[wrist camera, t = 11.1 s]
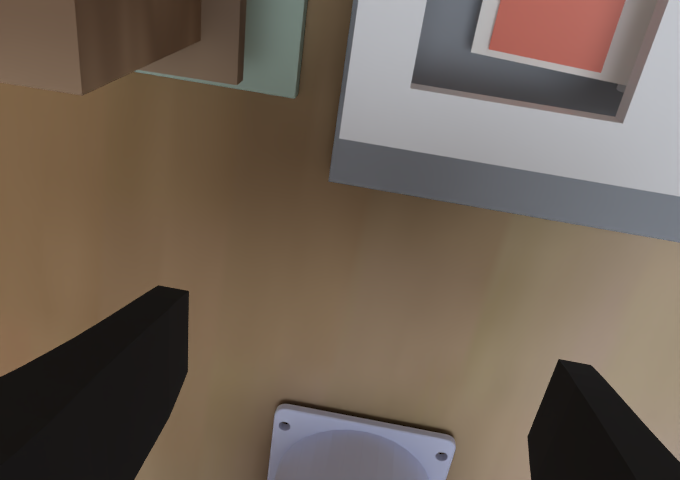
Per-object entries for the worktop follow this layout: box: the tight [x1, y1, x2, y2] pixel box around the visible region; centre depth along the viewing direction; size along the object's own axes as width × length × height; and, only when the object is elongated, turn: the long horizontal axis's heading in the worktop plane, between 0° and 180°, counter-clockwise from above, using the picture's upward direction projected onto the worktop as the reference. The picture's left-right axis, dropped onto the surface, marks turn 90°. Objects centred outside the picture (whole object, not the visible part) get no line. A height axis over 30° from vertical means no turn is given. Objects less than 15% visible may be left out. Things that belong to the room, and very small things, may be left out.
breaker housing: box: [329, 0, 680, 242], centre depth 15 cm, size 14×16×5 cm
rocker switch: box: [471, 0, 658, 93], centre depth 15 cm, size 4×9×1 cm, turn 82°
